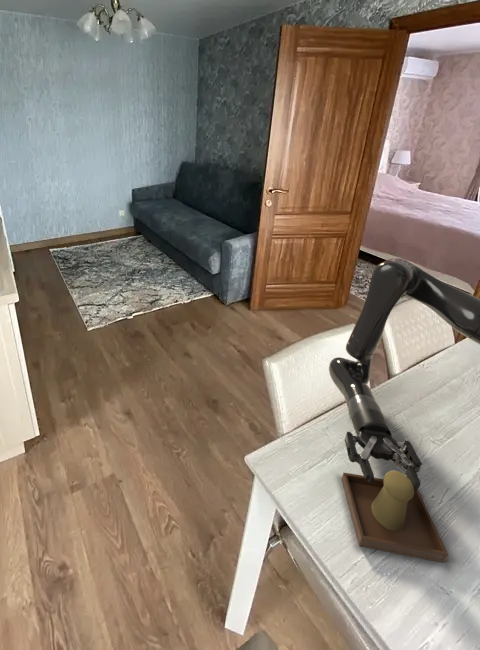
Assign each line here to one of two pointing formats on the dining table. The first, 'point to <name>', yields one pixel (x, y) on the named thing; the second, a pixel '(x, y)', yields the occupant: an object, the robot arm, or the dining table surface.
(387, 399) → the dining table surface
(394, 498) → the cork
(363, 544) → the tray
